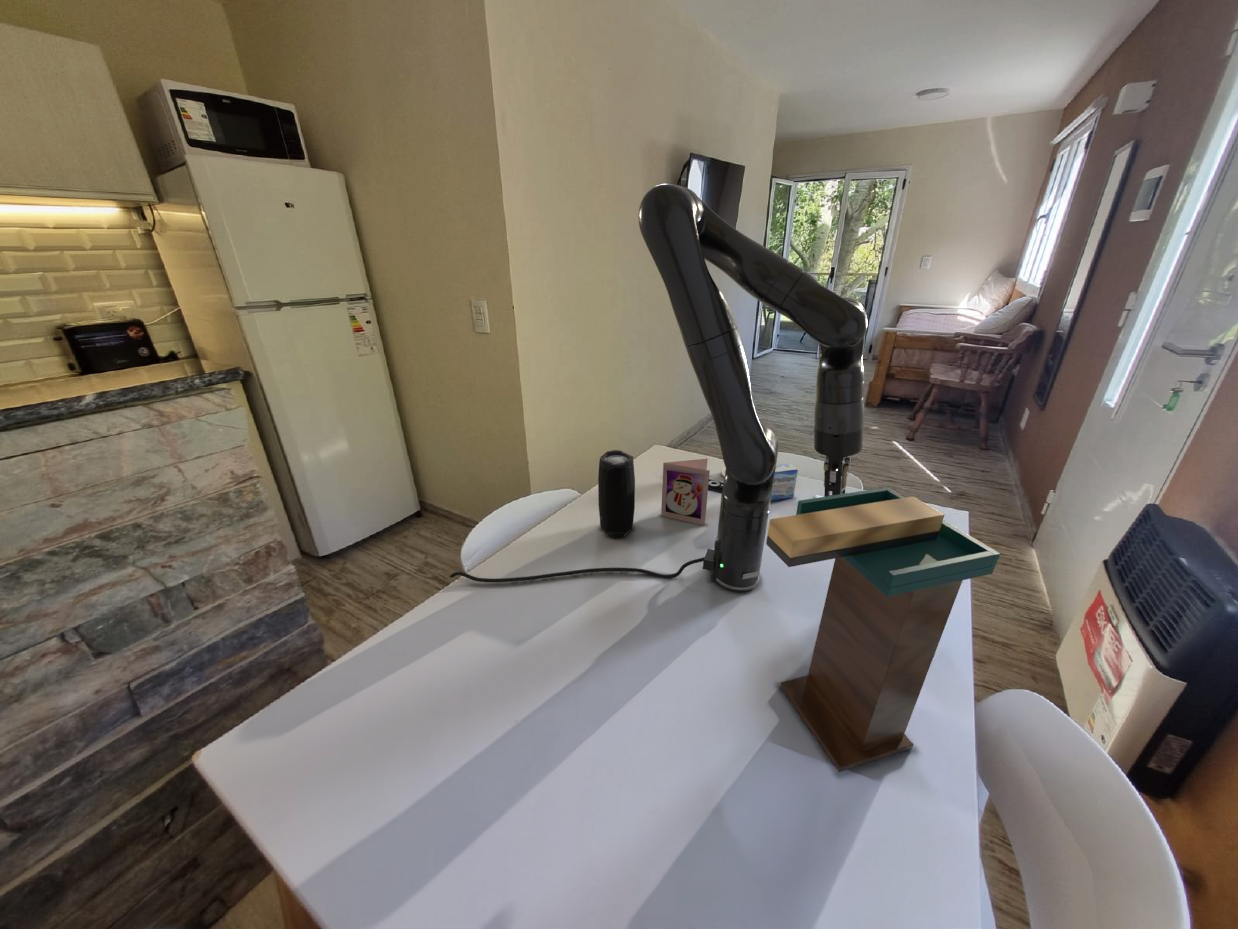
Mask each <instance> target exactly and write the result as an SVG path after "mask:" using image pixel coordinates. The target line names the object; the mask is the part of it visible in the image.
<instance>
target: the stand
mask: <svg viewBox="0 0 1238 929" xmlns="http://www.w3.org/2000/svg"><path fill="white" fill-rule="evenodd" d="M963 581H964V580H961V581H957V582H952V583H948V584H943V585H939V586H934V587H929V588H925V589H920V590H916V591H911V592H907V593H902V594H898V595H893V596H888V597H887V596H886V595H885V594H884V593H882V592H881V591H880V590H879V589H878V588H877V587H875V586H874V585H873V584H872V583H871V582H869V581H868V580H867V579H866V578H865V577H864V576H862V575H861V574H860V573H859V572H858V571H857V570H855V569H854V568H853V567H852V566H851V565H850V564H848V563H847V562H846V561H845V560H844V559H843V558H841V557H840V558H835V559H834V562H833V566H832V570H831V575H830V579H829V582H828V586H827V587H828V588H827V592H826V596H825V600H824V606H823V609H822V612H821V617H820V622H819V626H818V630H817V634H816V639H815V642H814V648H813V651H812V656H811V661H810V665H809V668H808V673H807V675H804V676H800V677H796V678H793V679H788V680H784V681H781V682H780V683H779V688H780V689H781V691H782V692H783V694H784V695H785V697H786V698H787V700H788V701H789V703H790V704H791V705H792V707H793V708H794V709H795V711H796V712H797V714H798V715H799V717H800V718H801V720H802V721H803V723H804V724H805V725H806V727H807V728H808V730H809V732H810V733H811V734H812V736H813V737H814V738H815V740H816V742H817V743H818V744H819V746H820V748H821V749H822V750H823V752H824V753H825V755H827V757H828V759H829V760H830V762H831V764H832V765H833V766H834V767H835V769H836V770H837V772H838V773H840V772H844V771H847V770H850V769H854V768H856V767H859V766H863V765H866V764H870V763H872V762H875V761H878V760H880V759H885V758H887V757H891V756H894V755H897V754H901V753H904V752H906V751H910V750H912V749H913V747H914V746H915V745H914V743H913V741H912V740H911V739H910V738H909V737H908V736H907V734H906V731H907V728H908V726H909V723H910V721H911V717H912V716H913V712H914V710H915V707H916V705H917V701H918V699H919V697H920V694H921V691H922V688H923V686H924V684H925V680H926V679H927V675H928V673H929V670H930V668H931V665H932V663H933V659H934V658H935V657H934V656H935V654H936V651H937V649H938V647H939V643H940V641H941V638H942V636H943V633H944V630H945V628H946V625H947V622H948V620H949V617H950V615H951V612H952V609H953V607H954V604H955V601H956V599H957V596H958V594H959V591H960V589H961V586H962V583H963Z"/></svg>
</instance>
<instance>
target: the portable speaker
mask: <svg viewBox="0 0 1238 929" xmlns="http://www.w3.org/2000/svg"><path fill="white" fill-rule="evenodd" d="M598 461H599V462H598V472H597V473H598V475H597V483H598V484H597V485H598V486H597V487H598V488H597V489H598V490H597V491H598V493H597V494H598V495H597V496H598V499H597V500H598V514H599V515H598V516H599V525H600V529H601V530H602V531H603V532H604V533H605V534H606V535H607V537H609V538H613V539H620V538H624V537H625V536H626V535H627V534H628V533H629V532H630V531H631V530H633V526H634V519H635V518H634V516H635V508H636V507H635V506H636V503H635V502H636V500H635V499H636V475H635V463H634V456H633V455H631V454H628V453H626V452H625V451H623V450H620V449H613V450H609V451H605V453H603V454H602V455H601V456H600V457H599V460H598Z"/></svg>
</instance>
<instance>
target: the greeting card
mask: <svg viewBox="0 0 1238 929" xmlns="http://www.w3.org/2000/svg"><path fill="white" fill-rule="evenodd" d="M662 463H663V465H662V484H661V485H662V486H661V487H662V488H661V510H660V516H661V517H666V518H671V519H674V520H675V519H676V520H680V521H685V522H689V523H694V524H698V525H703V526H705V525H706V519H707V518H706V516H707V508H708V507H707V506H708V505H707V504H708V494H709V492H708V491H709V483H710V473H711V472H710V470H708V458H700V459H699V458H698V459H689V460H678V461H677V460H675V461H666V462H662Z"/></svg>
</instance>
